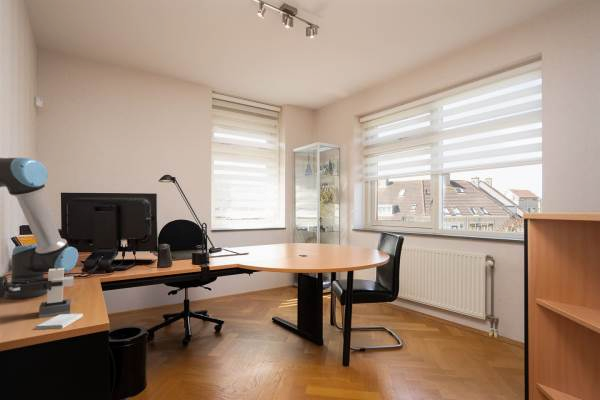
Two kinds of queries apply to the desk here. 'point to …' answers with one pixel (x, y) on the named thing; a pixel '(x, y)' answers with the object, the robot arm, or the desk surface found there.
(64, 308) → the socket dock
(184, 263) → the desk surface
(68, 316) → the hard drive
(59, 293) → the block
